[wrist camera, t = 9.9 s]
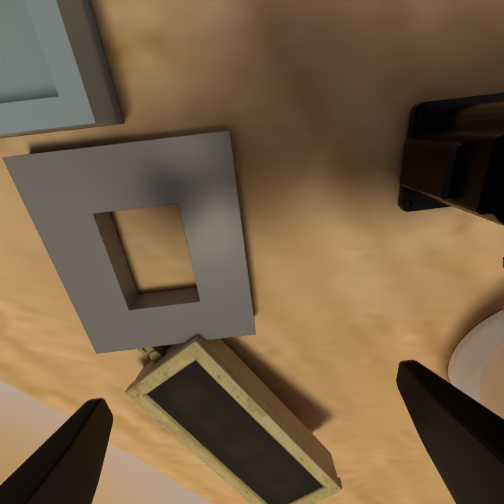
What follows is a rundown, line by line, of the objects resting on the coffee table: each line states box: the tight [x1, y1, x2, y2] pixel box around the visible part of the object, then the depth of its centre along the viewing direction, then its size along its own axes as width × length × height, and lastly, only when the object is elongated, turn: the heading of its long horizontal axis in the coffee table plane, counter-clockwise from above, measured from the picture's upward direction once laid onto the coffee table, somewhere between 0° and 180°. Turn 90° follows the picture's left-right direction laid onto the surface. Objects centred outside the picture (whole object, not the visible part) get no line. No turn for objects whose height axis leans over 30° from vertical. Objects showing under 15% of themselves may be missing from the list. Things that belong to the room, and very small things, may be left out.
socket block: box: [3, 130, 256, 354], centre depth 18 cm, size 12×14×2 cm
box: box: [125, 336, 342, 504], centre depth 24 cm, size 8×22×5 cm, turn 41°
